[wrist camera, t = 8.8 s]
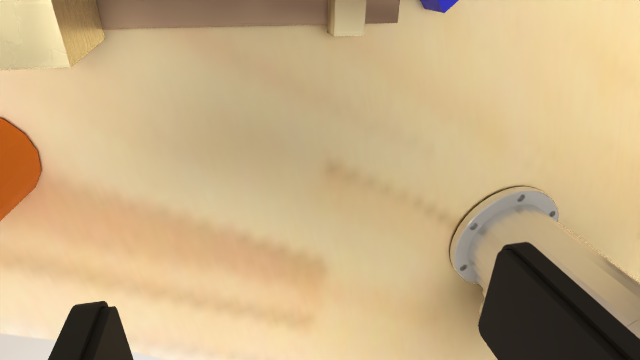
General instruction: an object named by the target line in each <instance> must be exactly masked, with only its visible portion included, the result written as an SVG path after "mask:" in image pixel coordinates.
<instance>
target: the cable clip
mask: <svg viewBox="0 0 640 360" xmlns="http://www.w3.org/2000/svg"><path fill="white" fill-rule="evenodd" d="M420 1H421V3H422V5H423V7H424V8H425V9H429V10H433V11H438V12H442V13H445V12H446V11H447V10H448V9H449V8H450V7H452V6H453V5H454V4H455V3H456V2H457V1H458V0H420Z"/></svg>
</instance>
